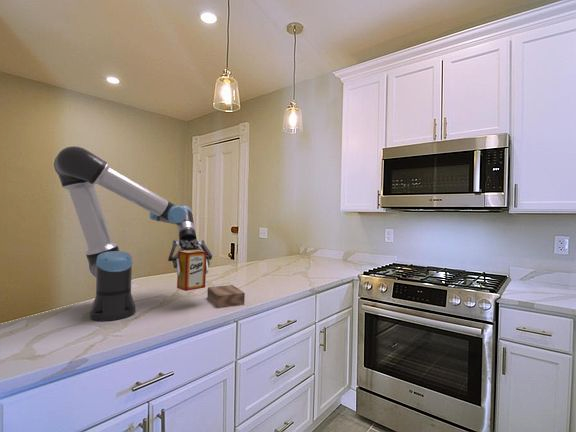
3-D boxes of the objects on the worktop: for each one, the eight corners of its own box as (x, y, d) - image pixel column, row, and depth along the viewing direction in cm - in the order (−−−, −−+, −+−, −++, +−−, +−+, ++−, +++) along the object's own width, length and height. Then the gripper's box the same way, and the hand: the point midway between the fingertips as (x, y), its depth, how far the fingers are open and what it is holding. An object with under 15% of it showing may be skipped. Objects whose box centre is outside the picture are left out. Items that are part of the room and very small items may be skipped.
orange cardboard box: (185, 290, 124) (187, 251, 124) (176, 288, 128) (178, 250, 128) (205, 287, 131) (206, 250, 131) (196, 284, 135) (198, 249, 135)
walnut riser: (217, 307, 127) (218, 295, 127) (207, 298, 141) (207, 287, 141) (244, 304, 133) (244, 292, 133) (231, 295, 147) (232, 284, 147)
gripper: (210, 238, 149) (218, 276, 136) (158, 238, 137) (162, 279, 124) (214, 228, 144) (222, 266, 131) (161, 227, 133) (164, 268, 119)
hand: (193, 272), depth 127 cm, fingers closed on orange cardboard box, 11 cm apart
